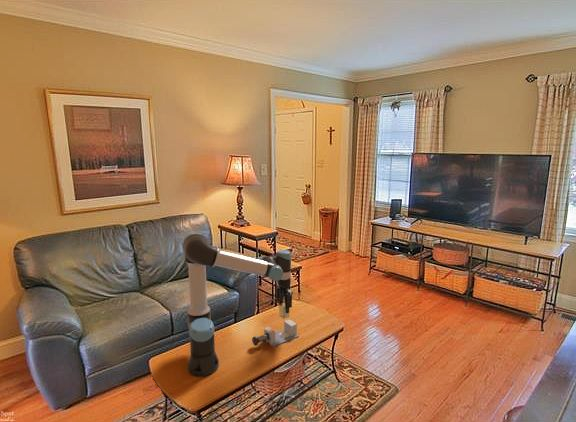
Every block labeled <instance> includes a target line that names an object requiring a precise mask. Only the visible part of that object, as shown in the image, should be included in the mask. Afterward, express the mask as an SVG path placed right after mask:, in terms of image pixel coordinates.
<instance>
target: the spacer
mask: <svg viewBox="0 0 576 422" xmlns="http://www.w3.org/2000/svg"><path fill="white" fill-rule="evenodd" d="M284 307H285V302H283V304H280V305H279V304H278V312H279V313H278V316H279V318H281V319H282V320H286V319H285V318H284Z"/></svg>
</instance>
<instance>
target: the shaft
mask: <svg viewBox="0 0 576 422" xmlns="http://www.w3.org/2000/svg"><path fill="white" fill-rule="evenodd" d="M267 339H269V334H268V333H267V334H265V335H264V334H262V335H260V336H253V337H252V339H251V341H252V344H253V346H255V347H256V346H258V345H259V343H262V342H266V341H265V340H267Z"/></svg>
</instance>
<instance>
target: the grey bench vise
mask: <svg viewBox="0 0 576 422" xmlns="http://www.w3.org/2000/svg"><path fill="white" fill-rule="evenodd" d="M283 326H284V327H283V329H280V330H277V331H275V330H273V329H272V328H271V327H270V326H268V327H267V326H266V327H264V329H263V330H264V331H263V332H264V334H263V335H265V334H267V333H268V334H269V339H267V340H265V341H264V342H266V343H268V344H269V345H270V346H271V347H272V348H275V347H277V346H279V345H282V344H285V343H287V342H289V341H292V340H293V339H296V338H299V334H297V333H298V328H297V327H298V324H297V322H295V321H293V320H292V319H289V318H288V319H287V320H286V319H285V320H284V322H283Z"/></svg>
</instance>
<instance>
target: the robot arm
mask: <svg viewBox="0 0 576 422" xmlns="http://www.w3.org/2000/svg"><path fill="white" fill-rule="evenodd" d="M182 246H183V248H184V250H183V251H184V262H185V263H186V265H187V266H188V287H189V289H188V290H189V305H190V306H189V308H188V309H187V319H186V320H187V321H186V323H187V325H188V326H187V327H188V335H189V343H190V344H189V346H190V347H189V348H190V355H189V360H188V362H187V371H188V374H190V375H192V376H194V377H207V376H209V375H211V374H214V373H215V372H216V371H218V369H219V366H220V363H219V362H220V360H219V357H218V354H217V353H216V350H215V348H216V347H215V345H216V344H215V343H216V342H215V325H214V323H213V321H212V320H211V318H212V317H211V315H212V314H211V308H210V306H209V305H208V294H207V293H208V291H207V271H206V270H207V267H211V268H214V267H216V266H217V267H220V268H225V269H229V270H234V271H238V272H243V273H247V274H252V275H256V276H260V277H265V278H268V279H270V280H272V281H273V282H277V284H276V285H275V290H276V293H275V295H276V302H277V303H278V306H279V305H280V304H283V303H285V307H284V318H285V319H284V320H286V319H289V318H290V308H292V305H293V304H292V303H293V293H294V291H291V289H290V286H291V282H292V281H291V280H292V278H291V276H292V275H291V273H292V272H291V271H292V269H291V268H292V267H291V266H292V254H291V251H290V250H287V249H281V250H278V251H277V253H276V254H275V255H268V256H267V255H266V256H259V257H258V256H257V257H256V258H255V257H254V258H253V257H249V256H246V255H241V254H238V253H237V254H236V253H233V252H228V251H225V250H221V249H219V247H217V246H213V245H211V244H209V242H208V239H207V237H206V236H205V235H203V234H202V233H199V232H193V233H190V234H188V235H187V236H186V237H185V239H184V241H183V245H182Z"/></svg>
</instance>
